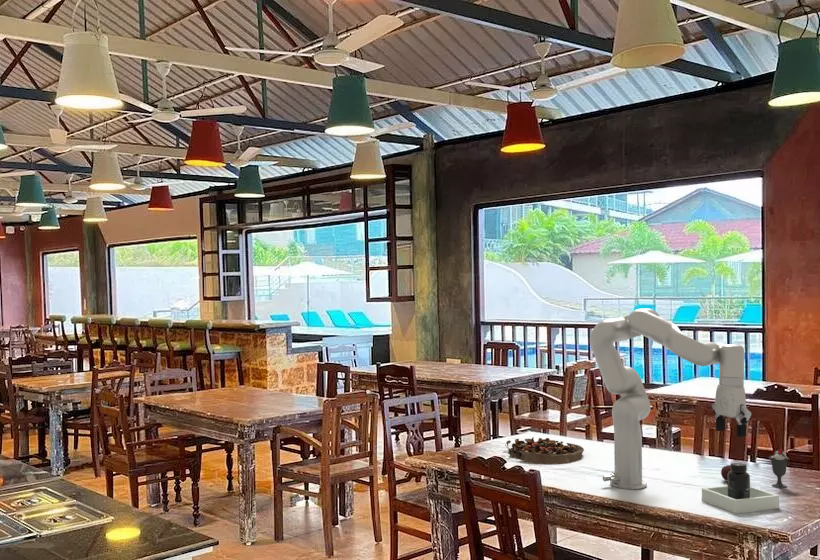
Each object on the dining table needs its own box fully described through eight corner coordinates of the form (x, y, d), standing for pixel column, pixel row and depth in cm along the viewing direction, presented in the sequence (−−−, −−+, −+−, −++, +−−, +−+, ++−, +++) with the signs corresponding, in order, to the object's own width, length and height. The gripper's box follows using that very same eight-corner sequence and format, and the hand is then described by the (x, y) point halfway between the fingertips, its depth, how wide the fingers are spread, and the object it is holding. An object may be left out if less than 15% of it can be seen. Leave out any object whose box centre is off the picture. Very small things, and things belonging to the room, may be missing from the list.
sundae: (781, 489, 275) (781, 446, 275) (765, 485, 281) (764, 443, 281) (794, 487, 278) (793, 444, 278) (777, 483, 284) (777, 441, 284)
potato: (728, 478, 292) (728, 461, 292) (753, 484, 283) (752, 467, 283) (715, 481, 288) (715, 464, 288) (740, 487, 279) (740, 469, 279)
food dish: (505, 448, 353) (505, 430, 353) (580, 451, 348) (581, 433, 349) (503, 463, 318) (504, 444, 319) (587, 467, 314) (587, 447, 314)
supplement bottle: (752, 504, 254) (752, 466, 254) (729, 503, 256) (729, 466, 256) (747, 498, 261) (747, 462, 261) (725, 497, 262) (725, 461, 262)
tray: (736, 513, 248) (736, 500, 248) (701, 500, 263) (701, 488, 263) (779, 508, 253) (779, 495, 253) (743, 495, 268) (743, 483, 268)
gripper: (704, 378, 267) (703, 429, 268) (740, 386, 251) (739, 439, 251) (722, 378, 270) (721, 427, 270) (759, 385, 253) (759, 438, 254)
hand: (730, 433), depth 261 cm, fingers open, 9 cm apart
